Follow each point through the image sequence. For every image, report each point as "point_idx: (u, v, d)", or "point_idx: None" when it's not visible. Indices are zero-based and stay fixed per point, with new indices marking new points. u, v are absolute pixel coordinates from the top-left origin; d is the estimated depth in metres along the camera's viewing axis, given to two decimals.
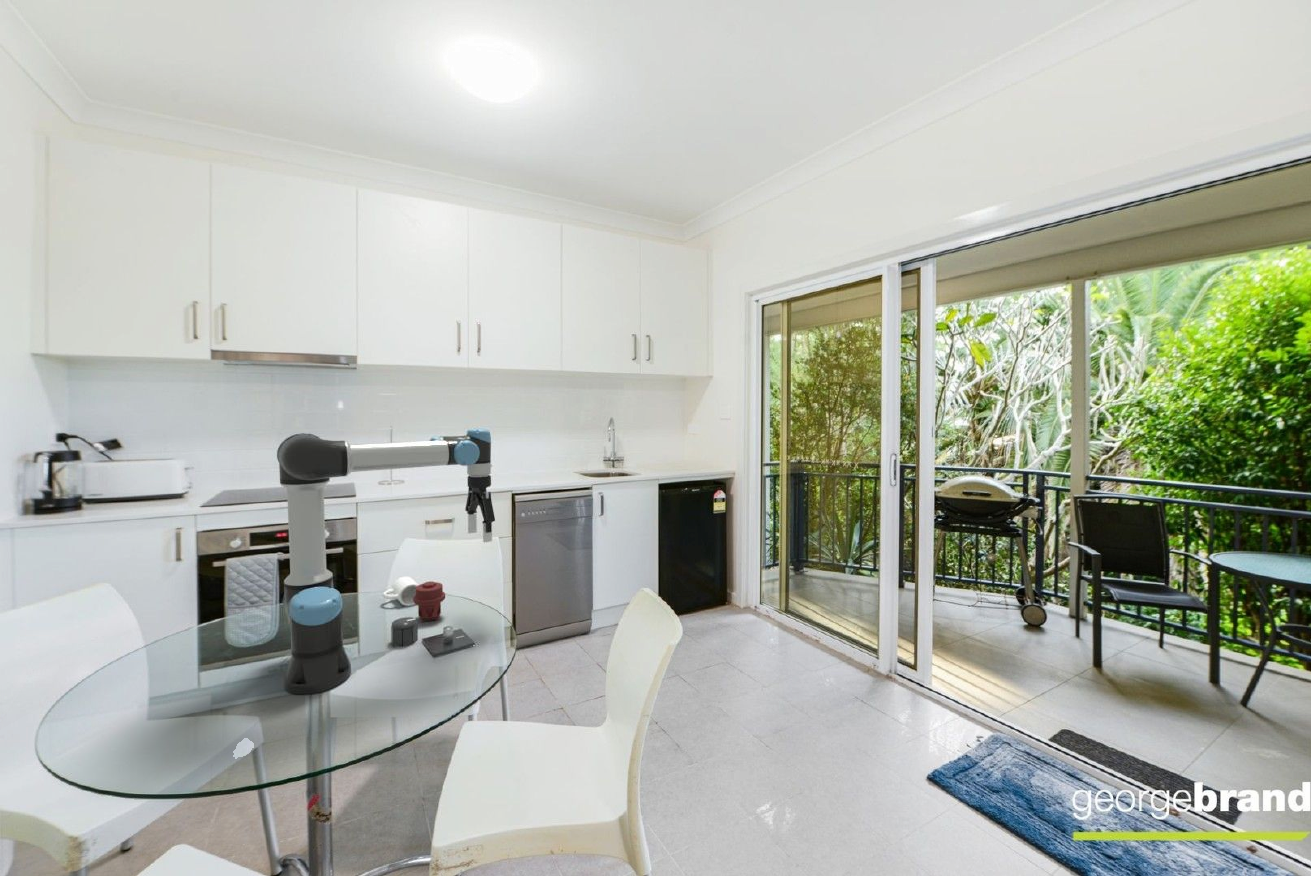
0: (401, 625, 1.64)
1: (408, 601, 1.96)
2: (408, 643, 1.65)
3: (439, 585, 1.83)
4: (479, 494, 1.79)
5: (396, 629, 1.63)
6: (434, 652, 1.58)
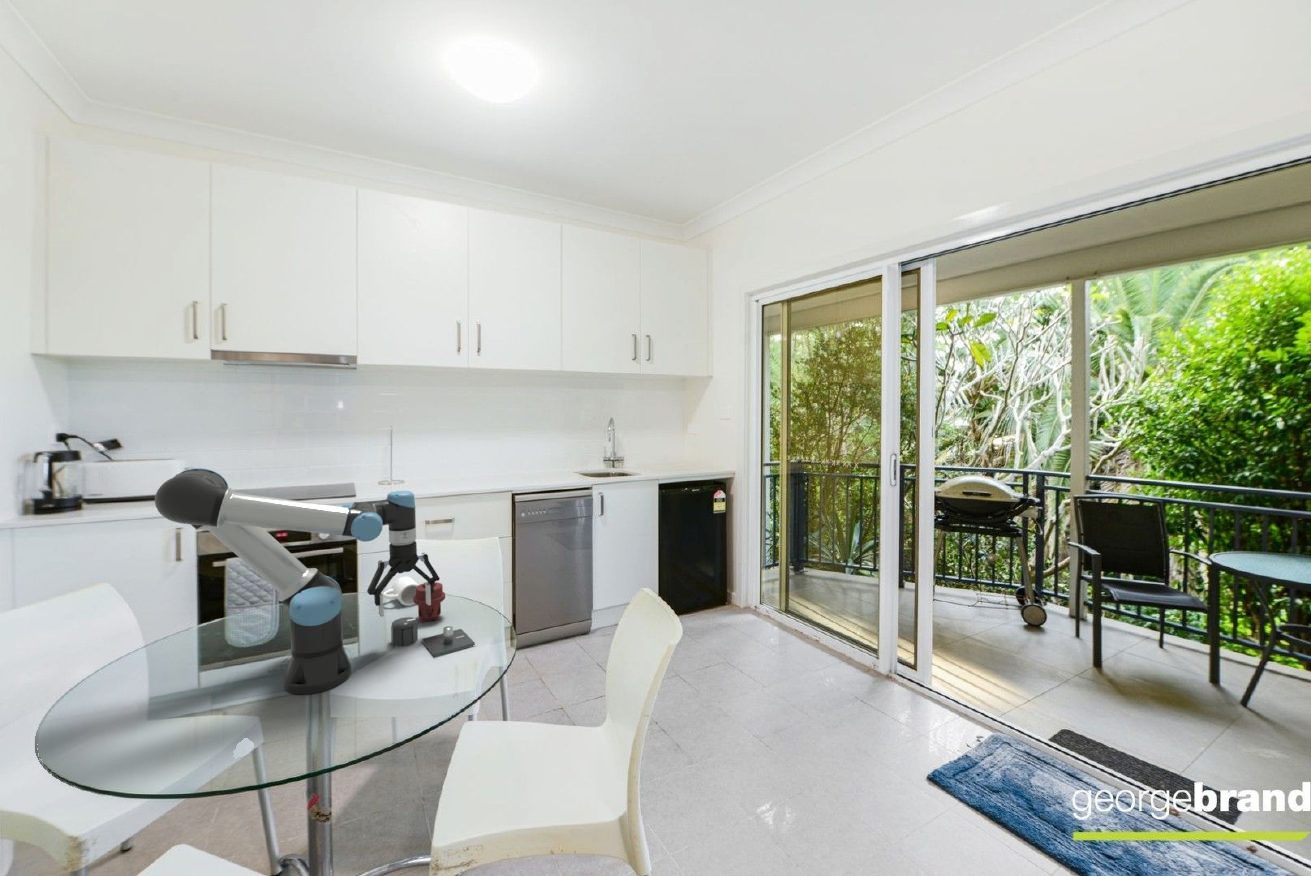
0: (401, 625, 1.64)
1: (408, 601, 1.96)
2: (408, 643, 1.65)
3: (439, 585, 1.83)
4: None
5: (396, 629, 1.63)
6: (434, 652, 1.58)
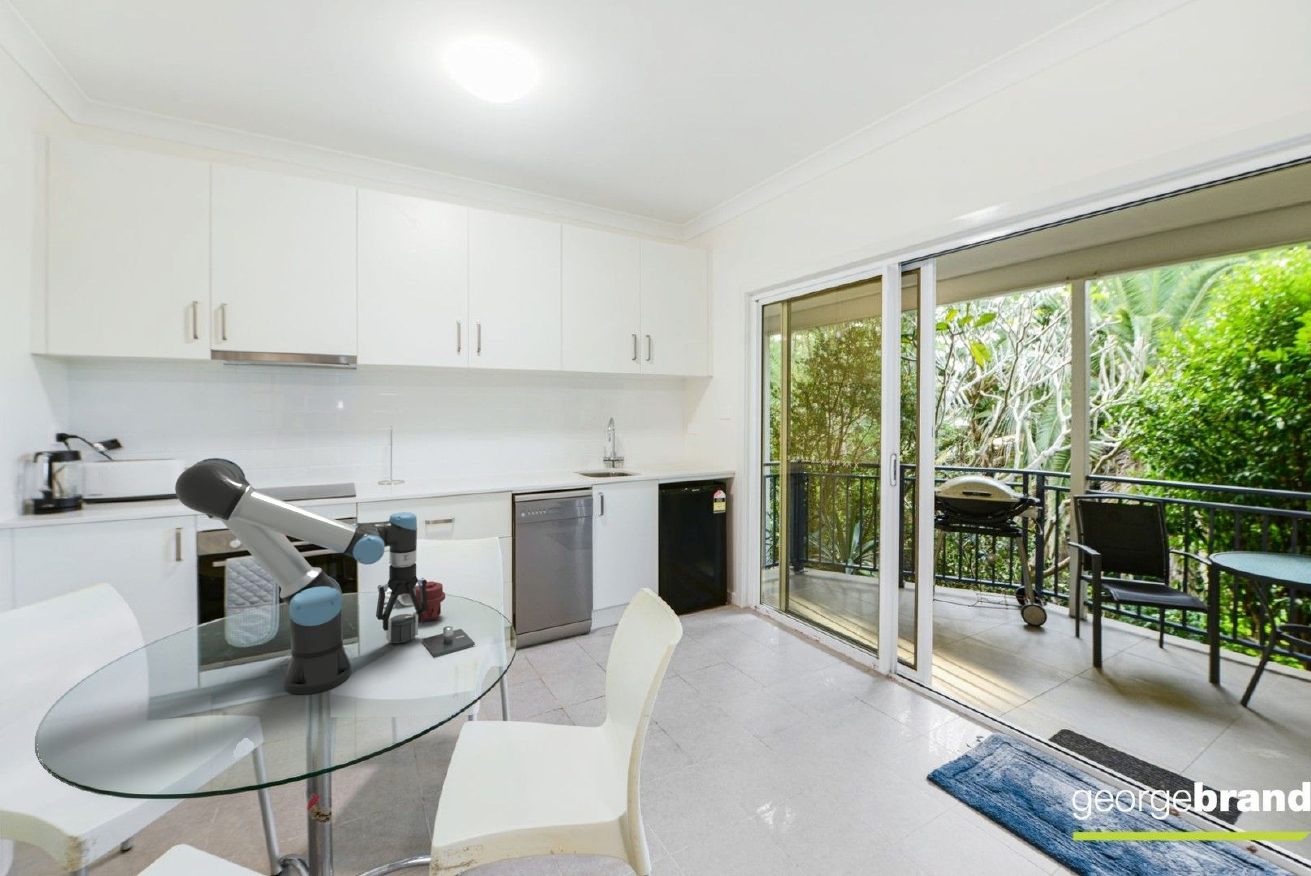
0: (399, 622, 1.64)
1: (408, 601, 1.96)
2: (406, 640, 1.64)
3: (439, 585, 1.83)
4: None
5: (394, 625, 1.63)
6: (434, 652, 1.58)
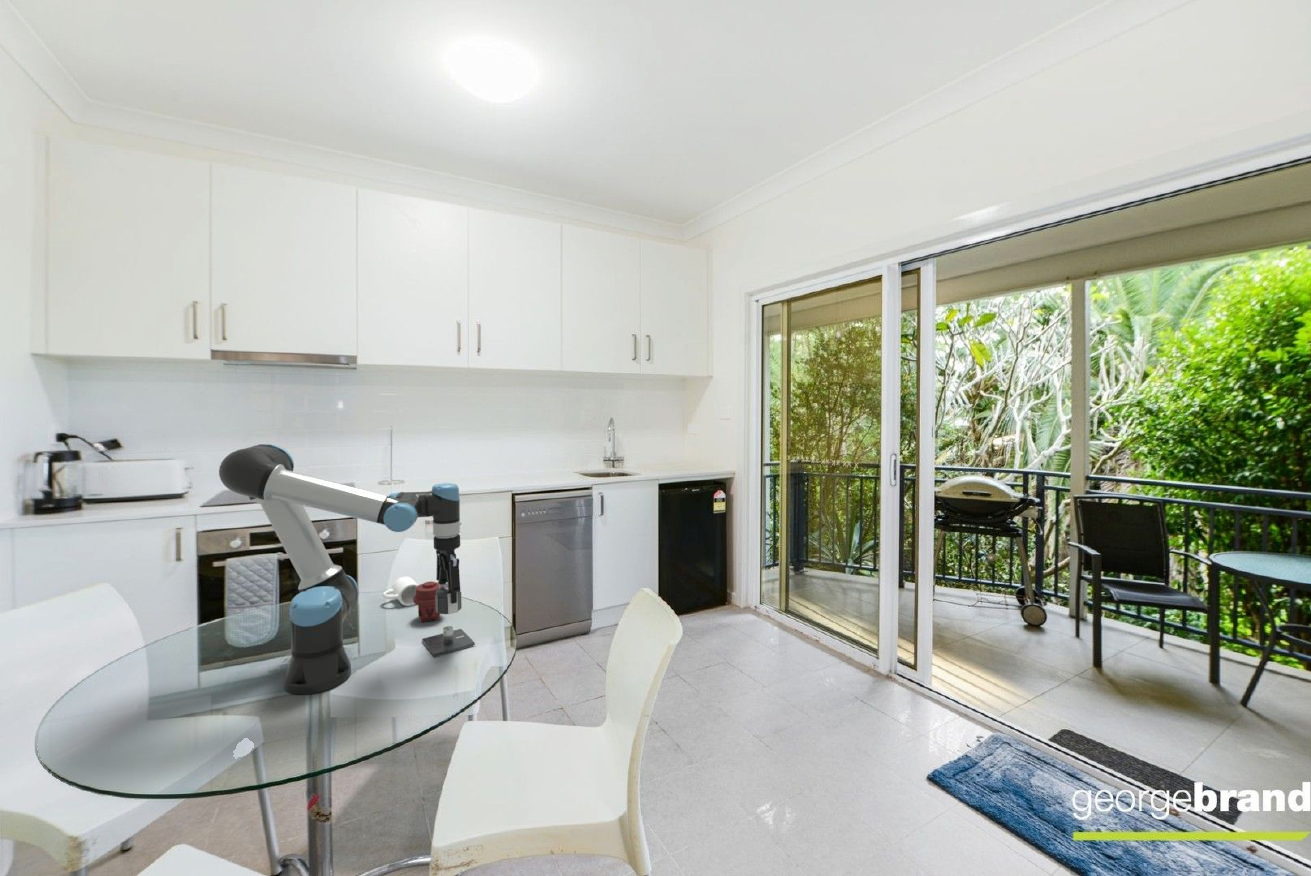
0: None
1: (408, 601, 1.96)
2: None
3: None
4: (446, 557, 1.60)
5: (458, 594, 1.64)
6: (434, 652, 1.58)
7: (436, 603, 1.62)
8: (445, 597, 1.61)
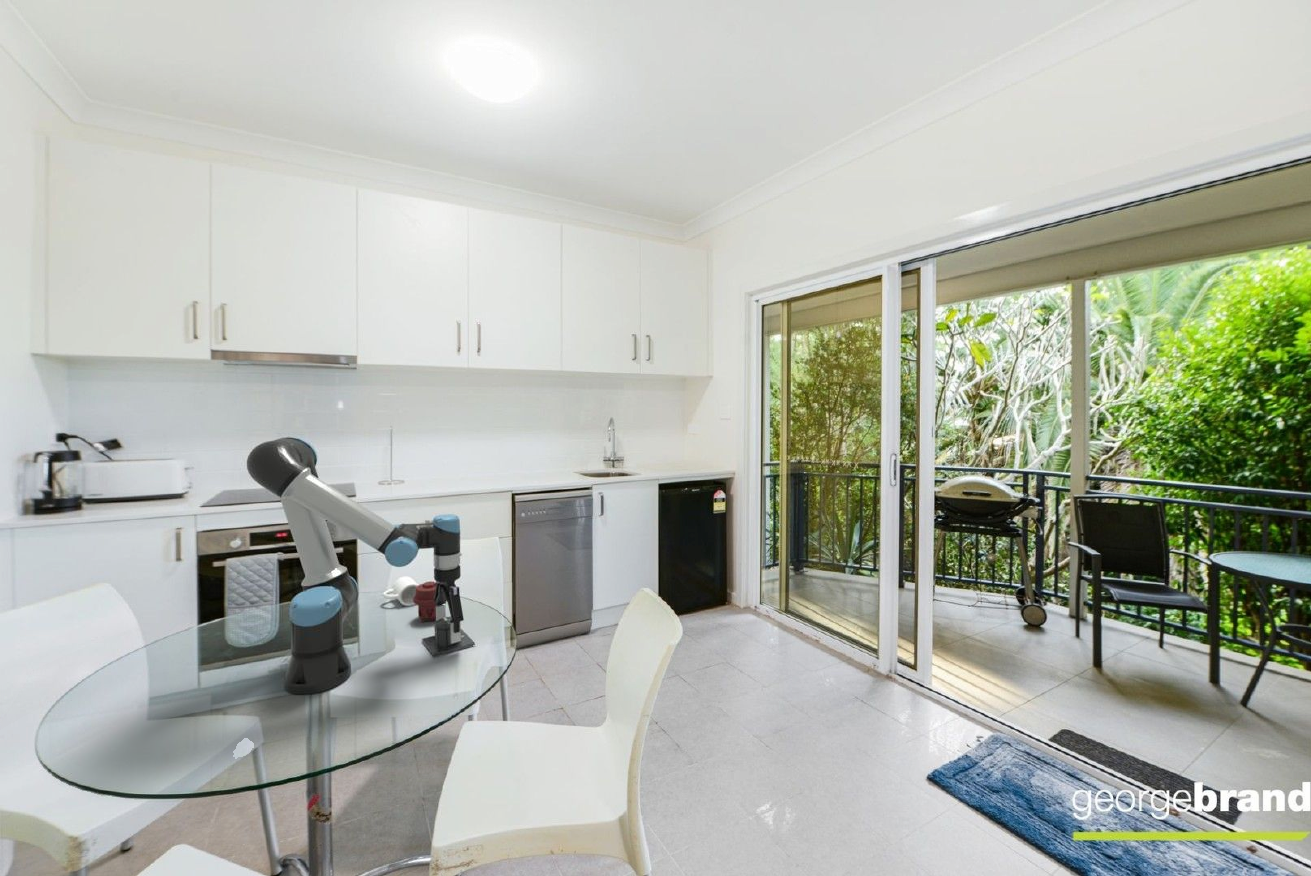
0: None
1: (408, 601, 1.96)
2: None
3: None
4: (447, 588, 1.61)
5: None
6: (434, 652, 1.58)
7: (435, 635, 1.63)
8: (444, 629, 1.62)
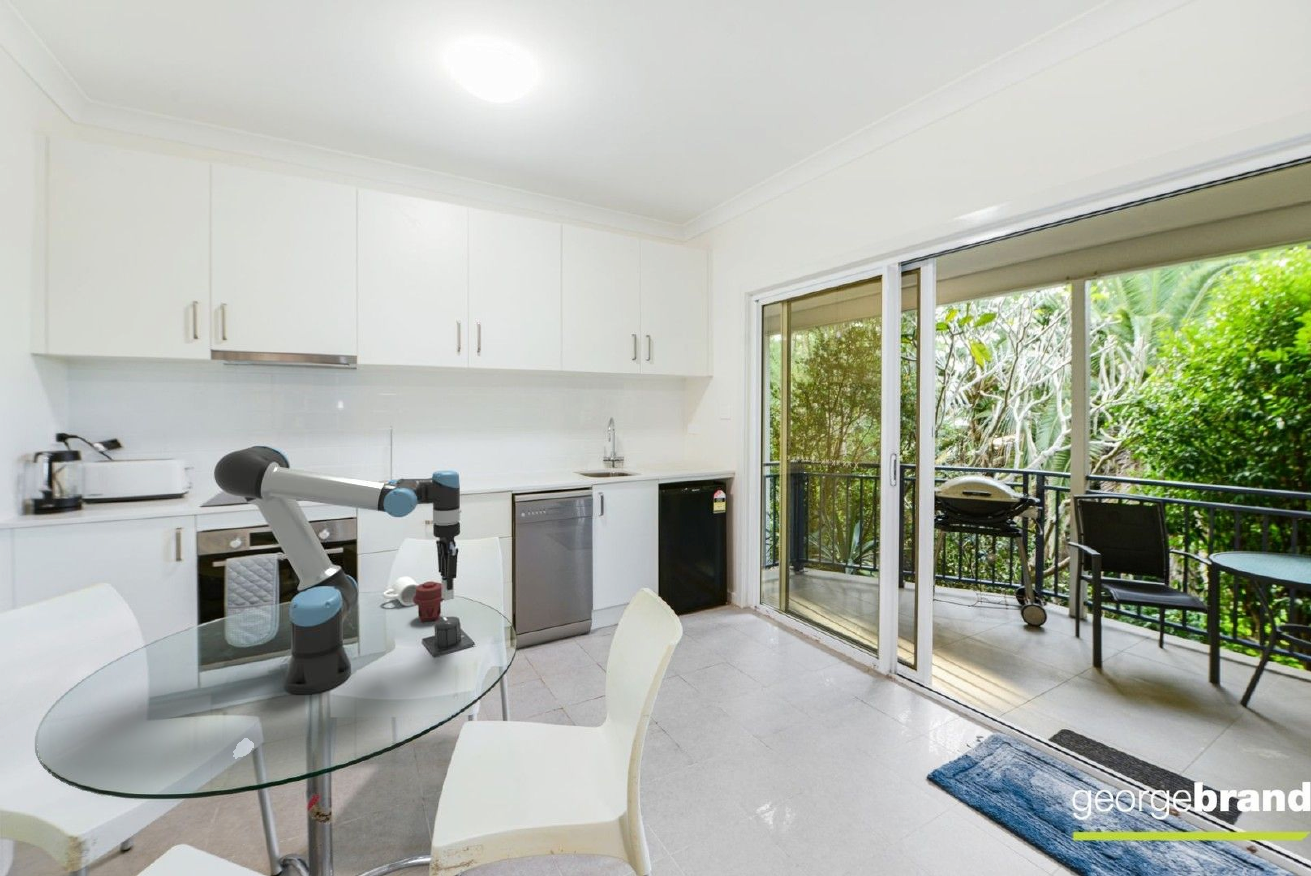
0: (456, 621, 1.65)
1: (408, 601, 1.96)
2: None
3: (439, 585, 1.83)
4: (446, 544, 1.60)
5: (457, 625, 1.64)
6: (434, 652, 1.58)
7: (435, 635, 1.63)
8: (444, 629, 1.62)
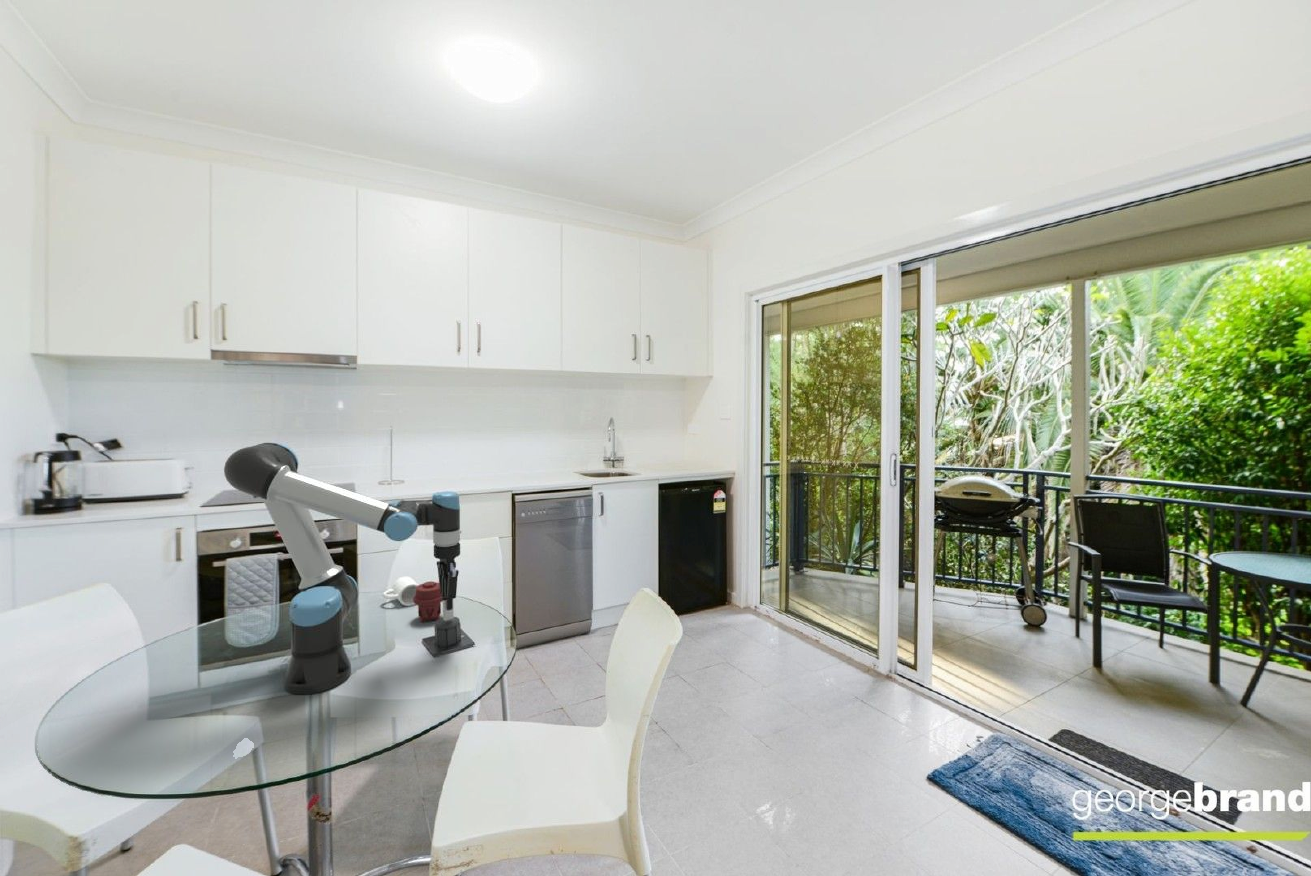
0: (456, 621, 1.65)
1: (408, 601, 1.96)
2: None
3: None
4: (446, 565, 1.61)
5: (457, 625, 1.64)
6: (434, 652, 1.58)
7: (435, 635, 1.63)
8: (444, 629, 1.62)
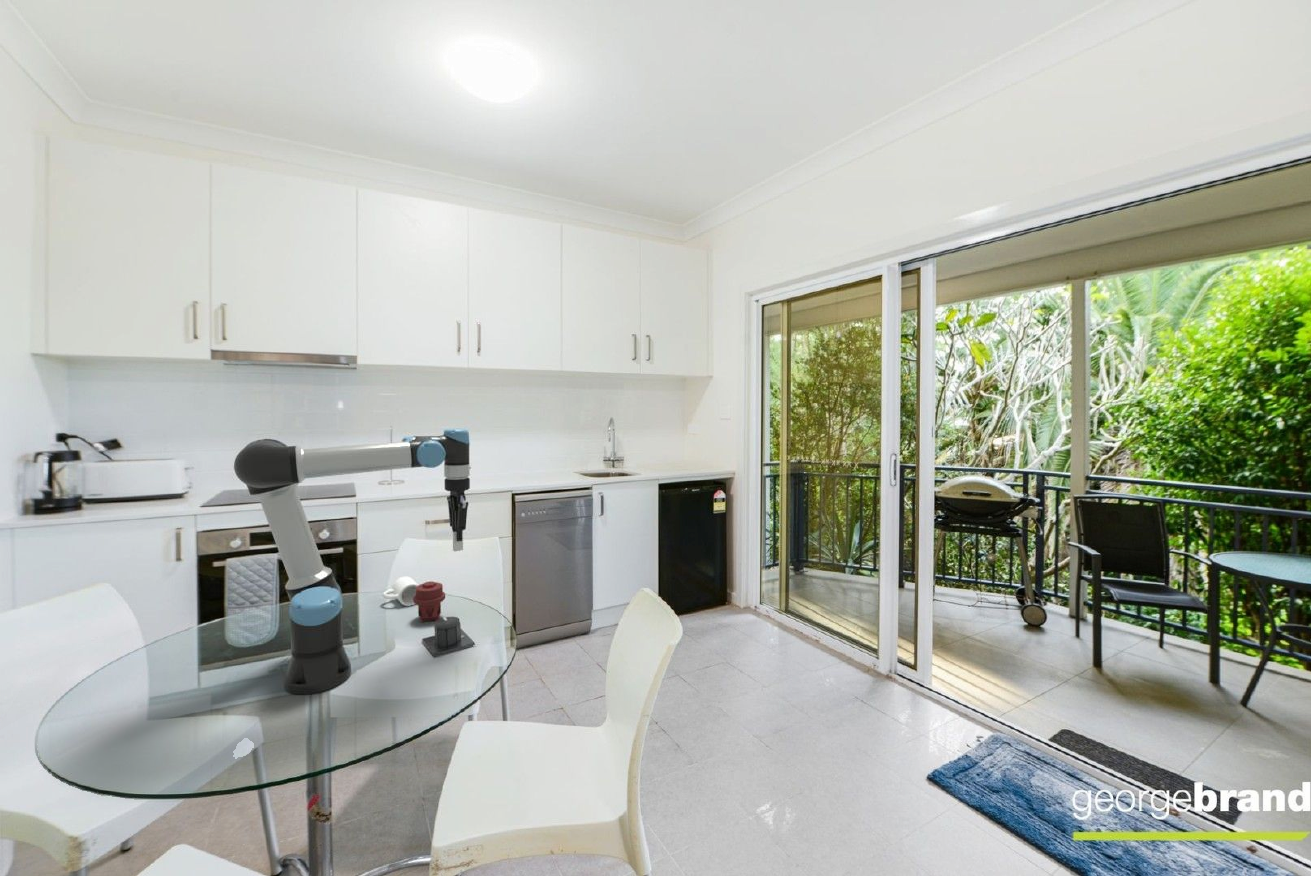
0: (456, 621, 1.65)
1: (408, 601, 1.96)
2: None
3: (439, 585, 1.83)
4: (456, 497, 1.69)
5: (457, 625, 1.64)
6: (434, 652, 1.58)
7: (435, 635, 1.63)
8: (444, 629, 1.62)
